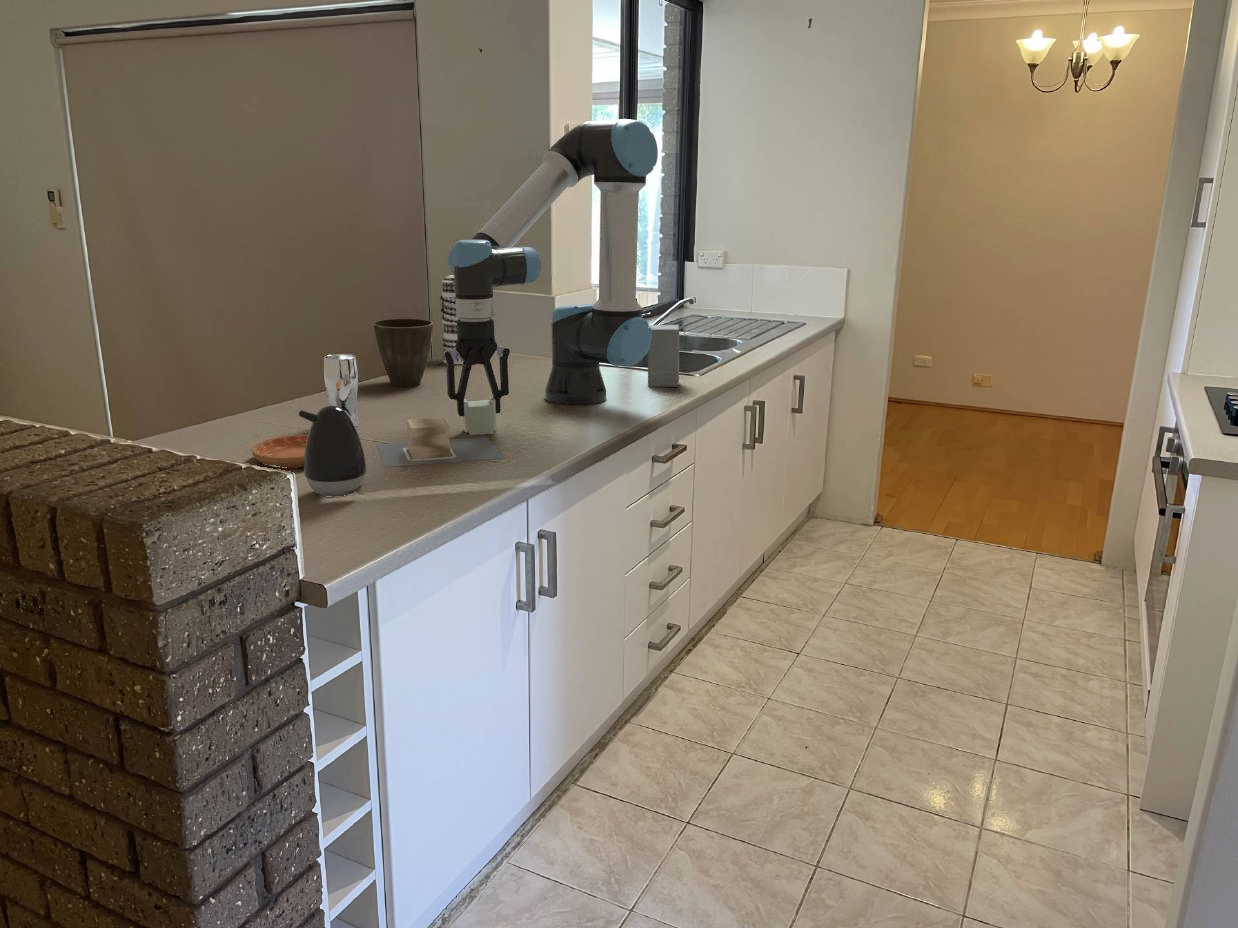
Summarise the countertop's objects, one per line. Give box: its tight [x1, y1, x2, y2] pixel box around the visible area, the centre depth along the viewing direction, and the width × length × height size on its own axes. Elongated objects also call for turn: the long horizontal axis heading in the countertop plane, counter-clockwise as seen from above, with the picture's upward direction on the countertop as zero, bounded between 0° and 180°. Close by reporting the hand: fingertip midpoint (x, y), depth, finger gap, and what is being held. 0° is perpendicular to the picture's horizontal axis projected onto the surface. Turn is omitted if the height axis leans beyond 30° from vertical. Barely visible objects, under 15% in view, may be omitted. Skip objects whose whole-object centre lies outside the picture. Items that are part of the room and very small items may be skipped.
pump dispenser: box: [298, 405, 367, 498], centre depth 160 cm, size 10×10×15 cm
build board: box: [376, 436, 504, 468], centre depth 184 cm, size 22×16×1 cm
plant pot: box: [373, 318, 434, 387], centre depth 246 cm, size 15×15×16 cm
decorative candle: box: [439, 274, 463, 365], centre depth 275 cm, size 9×9×25 cm
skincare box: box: [647, 324, 680, 388], centre depth 250 cm, size 8×7×16 cm
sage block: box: [467, 399, 495, 436], centre depth 198 cm, size 5×5×6 cm
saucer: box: [251, 434, 308, 469], centre depth 181 cm, size 16×16×3 cm
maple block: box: [406, 417, 451, 459], centre depth 181 cm, size 7×7×6 cm
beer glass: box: [323, 353, 360, 428], centre depth 204 cm, size 7×7×15 cm
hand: (479, 429), depth 199 cm, fingers closed on sage block, 5 cm apart
